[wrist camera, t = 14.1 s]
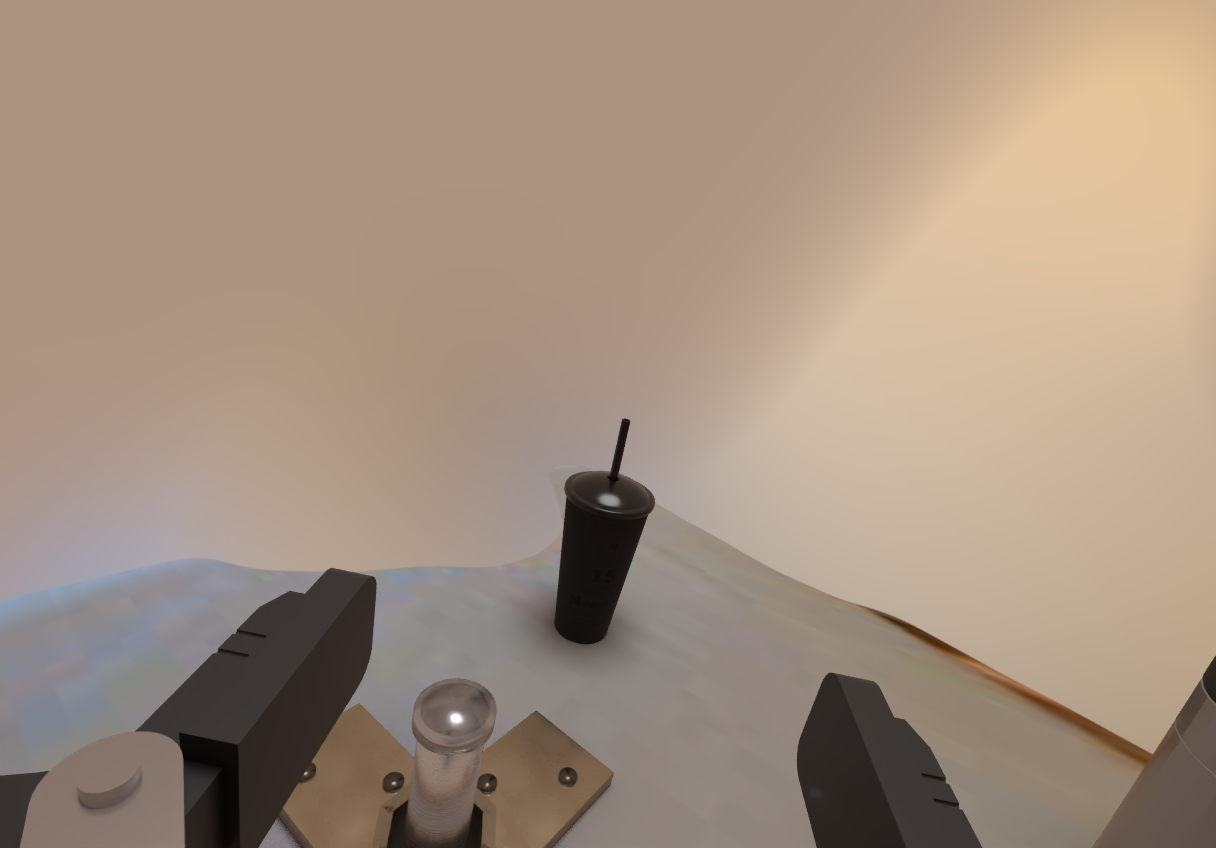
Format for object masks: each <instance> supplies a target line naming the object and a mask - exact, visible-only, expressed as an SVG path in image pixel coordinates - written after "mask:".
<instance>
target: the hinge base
mask: <svg viewBox="0 0 1216 848" xmlns="http://www.w3.org/2000/svg"><path fill="white" fill-rule="evenodd" d="M413 762H414V757H413V756H412V755H411V754H410V753H409V752H408V751H407V750H406V749H405V748H404V747H403V746H402V745H401V744H400V743H399V742H398V741H397V740H396V739H395V738H394V737H393V736H392V735H391V734H390V733H389V732H388V731H387V730H386V729H385V728H384V727H383V726H382V725H381V724H380V723H379V722H378V721H377V720H376V719H375V718H374V717H373V716H372V715H371V714H370V713H369V712H368V711H367V710H366V709H365V708H364V707H363V706H362V705H361V704H360V703H359V704H357V705H355V706H354V707H352V708H350V709H348V710H346V711H345V712H343V713H342V714H341V715H340V717H339V718H338V720H337V722H336V723H335V725H334V726H333V728H332V730H331V731H330V733H329V735H328V736H327V738H326V739H325V741H324V743H323V744H322V746H321V747H320V749H319V751H318V752H317V754H316V755H315V757H314V759H313V760H312V762H311V764H310V765H309V767H308V768H307V770H306V772H305V773H304V775H303V776H302V778H301V780H300V781H299V783H298V785H297V786H296V788H295V789H294V791H293V793H292V794H291V796H290V797H289V799H288V801H287V802H286V804H285V805H284V807H283V809H282V810H281V812H280V814H279V815H278V816H279V817H280V819H281V820H282V821H283V823H284V824H285V825H286V827H287V828H288V829H289V831H290V832H291V833H292V835H293V836H294V837H295V838H296V840H297V841H298V842H299V844H300V845H301V846H302V848H402V846H403V838H404V831H405V823H406V815H407V808H408V800H409V792H410V785H411V777H412V769H413ZM613 774H614V772H612V771H611V770H610V769H609V768H607V767H606V766H605V765H604V764H602V763H601V762H600V761H599V760H597V759H596V758H595V757H594V756H592V755H591V754H590V753H589V752H587V751H586V750H585V749H584V748H582V747H581V746H580V745H579V744H577V743H576V742H575V741H574V740H572V739H571V738H570V737H569V736H567V735H566V734H565V733H564V732H562V731H561V730H560V729H559V728H557V727H556V726H555V725H554V724H553V723H551V722H550V721H549V720H548V719H546V718H545V717H544V716H543V715H541V714H540V713H539V712H538V711H535V712H533V713H532V714H531V715H530V716H528V717H527V718H526V719H524V720H523V721H522V722H521V723H519V724H518V725H517V726H515V727H514V728H513V729H512V730H510V731H509V732H508V733H507V734H505V735H504V736H503V737H501V738H500V739H499V740H498V741H496V742H495V743H494V744H492V745H491V746H490V747H489V748H487V749H486V750H485V751H483V754H482V760H481V766H480V771H479V777H478V783H477V788H476V794H475V799H474V805H473V811H472V816H471V822H470V828H469V833H468V839H467V845H466V848H552V847H553V846H554V845H555V844H556V843H557V841H558V840H559V839H560V838H561V837H562V836H563V835H564V834H565V833H566V832H567V831H568V830H569V828H570V827H571V826H572V825H573V824H574V823H575V822H576V821H577V820H578V819H579V818H580V817H581V816H582V814H583V813H584V812H585V811H586V810H587V809H588V808H589V807H590V806H591V805H592V804H593V803H594V801H595V800H596V799H597V798H598V797H599V796H600V795H601V794H602V793H603V792H604V791H605V790H606V788H607V787H608V786H609V785H610V784H611V781H612V777H613Z"/></svg>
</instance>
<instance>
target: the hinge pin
mask: <svg viewBox="0 0 1216 848" xmlns="http://www.w3.org/2000/svg"><path fill="white" fill-rule="evenodd" d="M496 711H497V708H496V702H495V700H494V697H493V696H492V694H491V693H490V692H489V691H488V690H487V689H486V688H485V687H483V686H482V685H480V684H478V683H476V682H474V681H471V680H466V679H446V680H442V681H439V682H436V683H434V684H432V685H430V686H429V687H427V688H426V689H425V690H423V691H422V692H421V694H420V695H419V696H418V698H417V700H416V702H415V705H414V710H413V718H412V730H413V734H414V736H415V738H416V746H415V754H414V762H413V769H412V777H411V785H410V792H409V800H408V808H407V815H406V823H405V831H404V838H403V846H402V848H466V845H467V839H468V833H469V828H470V822H471V816H472V811H473V805H474V799H475V794H476V788H477V783H478V777H479V771H480V766H481V760H482V754H483V749H484V743H485V742H486V741H487V740H488V739H489V737H490V736H491V734H492V732H493V728H494V723H495V718H496Z"/></svg>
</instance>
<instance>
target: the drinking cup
mask: <svg viewBox="0 0 1216 848" xmlns="http://www.w3.org/2000/svg"><path fill="white" fill-rule="evenodd" d="M629 425H630V420H628V419H622V422H621V427H620V431H619V436H618V441H617V445H616V450H615V454H614V459H613V463H612V468H611V472H609V471H589V472H581V473H577V474H574V475H572V476H570V477H569V478H568V479H567V480H566V482H565V487H564V490H565V494H566V496H567V498H566V508H565V518H564V529H563V539H562V550H561V560H560V571H559V581H558V592H557V602H556V613H555V626H556V629H557V630H558V632H559V633H560V634H561V635H562V636H564V637H565V638H567V639H569V640H571V641H574V642H577V643H584V644H588V643H594V642H597V641H599V640H601V639H602V638H604V636H605V635H606V633H607V630H608V627H609V624H610V622H611V619H612V616H613V613H614V610H615V607H616V605H617V602H618V599H619V596H620V593H621V590H622V587H623V585H624V582H625V579H626V576H627V573H628V570H629V568H630V565H631V562H632V559H633V556H634V553H635V551H636V548H637V545H638V542H639V539H640V536H641V534H642V531H643V528H644V525H645V522H646V519H647V517H648V514H650V513H651V512H652V510H653V509H654V505H655V498H654V496H653V494H652V493H651V492H650V491H649V490H648V489H647V488H646V487H645V486H643V485H641V484H640V483H638V482H636V481H634V480H632V479H631V478H629V477H627V476H624V475H621V474H619V469H620V465H621V461H622V456H623V452H624V447H625V442H626V438H627V434H628V429H629Z"/></svg>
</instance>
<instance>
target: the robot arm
mask: <svg viewBox="0 0 1216 848" xmlns="http://www.w3.org/2000/svg"><path fill="white" fill-rule="evenodd" d="M375 600H376V579H375V577H373V576H369V575H364V574H359V573H354V572H349V571H344V570H340V569H334V568H330V569H328V570H327V571H326V572H325V573H324V574H323V575H322V576H321V577H320V578H319V579H318V580H317V581H316V582H315V584H314V585H313V586H312V587H311V588H310V589H309V590H308V591H307V592H306V593H305V594H302V593H297V592H293V591H289V592H287V593H285V594H283V595H281V596H280V597H278V598H276V599H274V600H272V601H270V602H268V603H266V604H264V605H263V606H261V607H259V608H258V609H257V610H256V611H255V612H254V613H253V614H252V615H251V616H250V617H249V618H248V619H247V620H246V621H245V622H244V623H243V624H242V625H241V626H240V627H239V628H238V629H237V632H236V634H232V635H231V636H230V637H229V638H228V639H227V640H226V641H225V642H224V643H223V644H222V645H221V646H220V647H219V648H218V652H217V653H213V654H212V655H211V656H210V657H209V658H208V659H207V660H206V661H205V662H204V663H203V664H202V665H201V666H200V667H199V668H198V669H197V670H196V671H195V672H194V673H193V674H192V675H191V676H190V677H189V678H188V679H187V680H186V681H185V682H184V683H183V684H182V685H181V686H180V687H179V688H178V689H177V690H176V691H175V692H174V693H173V694H172V695H171V696H170V697H169V698H168V699H167V700H166V701H165V702H164V703H163V704H162V705H161V706H160V707H159V708H158V709H157V710H156V711H155V712H154V713H153V714H152V715H151V716H150V717H149V718H148V719H147V720H146V721H145V722H144V724H143V725H142V726H141V727H139V728H138V729H137V730H136V731H135V732H128V733H122V734H118V735H113V736H110V737H107V738H104V739H101V740H98V741H96V742H93V743H91V744H89V745H87V746H85V747H83V748H81V749H79V750H77V751H76V752H74V753H72V754H71V755H69V756H68V757H66V758H65V759H63V760H62V761H61V762H60V763H58V764H57V765H56V766H55V767H53V768H52V769H51V770H50V771H45V772H38V773H27V774H16V775H4V776H0V848H258V847H259V846H260V844H261V843H262V841H263V839H264V838H265V836H266V835H267V833H268V831H269V830H270V828H271V826H272V825H273V823H274V822H275V820H276V818H277V817H278V815H279V814H280V812H281V810H282V809H283V807H284V805H285V804H286V802H287V801H288V799H289V797H290V796H291V794H292V793H293V791H294V789H295V788H296V786H297V785H298V783H299V781H300V780H301V778H302V776H303V775H304V773H305V772H306V770H307V768H308V767H309V765H310V764H311V762H312V760H313V759H314V757H315V755H316V754H317V752H318V751H319V749H320V747H321V746H322V744H323V743H324V741H325V739H326V738H327V736H328V735H329V733H330V731H331V730H332V728H333V726H334V725H335V723H336V722H337V720H338V718H339V717H340V715H341V714H342V712H343V710H344V709H345V707H346V705H347V704H348V702H349V701H350V699H351V697H352V696H353V694H354V693H355V691H356V689H357V688H358V686H359V684H360V682H361V680H362V678H363V676H364V674H365V671H366V669H367V666H368V663H369V659H370V655H371V650H372V640H373V627H374V614H375ZM797 770H798V777H799V781H800V785H801V789H802V793H803V796H804V800H805V804H806V808H807V812H808V816H809V820H810V823H811V827H812V831H813V835H814V839H815V843H816V846H817V848H982V846H981V844H980V843H979V841H978V839H977V837H976V835H975V833H974V831H973V829H972V827H971V825H970V823H969V821H968V820H967V818H966V816H965V814H964V812H963V810H960V809H959V802H958V800H957V798H956V796H955V795H954V793H953V791H952V789H951V787H950V785H949V784H946V781H945V779H946V777H945V775H944V773H943V772H942V770H941V768H940V766H939V764H938V762H937V760H936V758H935V756H934V754H933V752H932V750H931V749H930V747H929V746H928V745H927V744H926V743H925V742H924V740H923V739H922V738H921V737H920V736H919V735H918V734H917V733H916V732H915V731H914V729H913V728H912V727H911V726H910V725H909V724H908V723H907V722H906V721H905V720H904V719H899V718H894V716H893V714H892V712H891V710H890V708H889V706H888V704H887V702H886V700H885V698H884V695H883V693H882V691H881V689H880V688H879V686H878V685H877V684H876V683H875V682H873V681H869V680H864V679H860V678H855V677H850V676H845V675H840V674H835V673H829V674H827V675H826V676H825V678H824V679H823V681H822V684H821V686H820V689H819V691H818V694H817V696H816V699H815V701H814V704H813V706H812V709H811V711H810V714H809V716H808V719H807V721H806V724H805V727H804V729H803V732H802V734H801V737H800V740H799V745H798V752H797ZM1092 848H1216V656H1215V657H1214V659H1213V661H1212V662H1211V664H1210V665H1209V667H1208V668H1207V670H1206V671H1205V673H1204V675H1203V677H1202V679H1201V680H1200V682H1199V683H1198V685H1197V686H1196V688H1195V689H1194V691H1193V693H1192V694H1191V696H1190V697H1189V699H1188V700H1187V702H1186V703H1185V705H1184V707H1183V708H1182V710H1181V711H1180V713H1179V714H1178V716H1177V717H1176V720H1175V721H1174V723H1173V724H1172V726H1171V727H1170V729H1169V730H1168V732H1167V734H1166V735H1165V737H1164V738H1163V740H1162V742H1161V743H1160V744H1159V746H1158V747H1157V749H1156V751H1155V752H1154V754H1153V755H1152V757H1151V758H1150V760H1149V761H1148V763H1147V764H1146V766H1145V767H1144V769H1143V771H1142V772H1141V774H1140V775H1139V777H1138V778H1137V780H1136V781H1135V783H1134V784H1133V786H1132V788H1131V789H1130V791H1129V792H1128V794H1127V795H1126V797H1125V798H1124V800H1123V801H1122V803H1121V804H1120V806H1119V808H1118V809H1117V811H1116V812H1115V814H1114V815H1113V817H1112V818H1111V820H1110V821H1109V823H1108V825H1107V826H1106V828H1105V829H1104V831H1103V832H1102V834H1101V835H1100V837H1099V838H1098V840H1097V841H1096V842H1095V844H1094V846H1093V847H1092Z"/></svg>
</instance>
